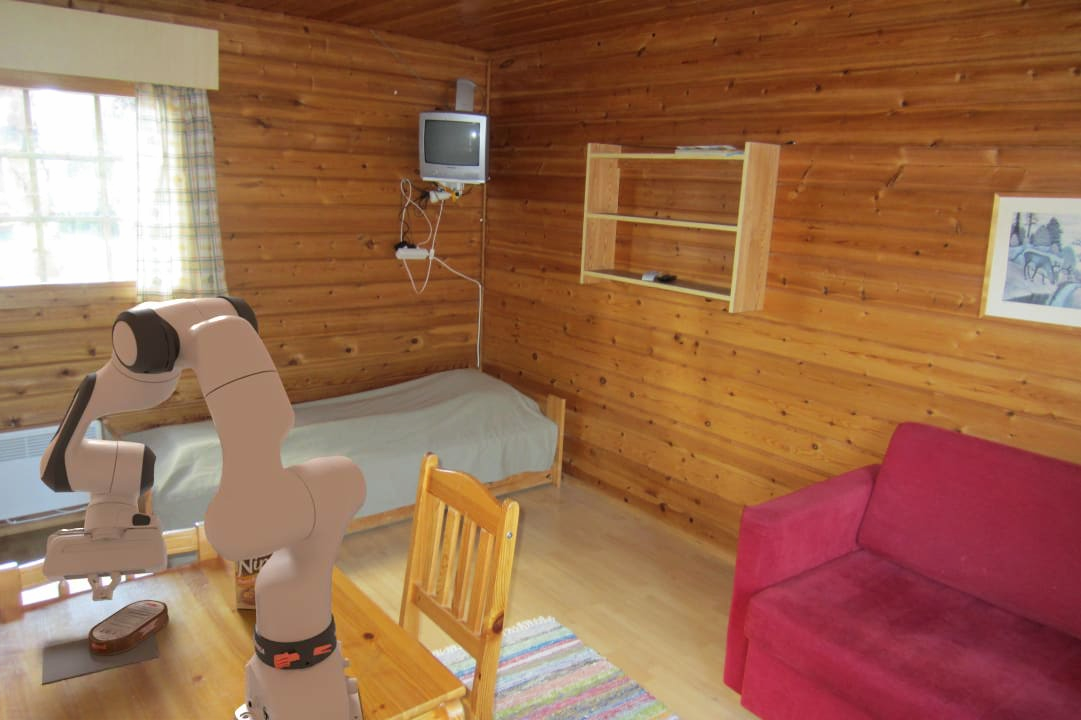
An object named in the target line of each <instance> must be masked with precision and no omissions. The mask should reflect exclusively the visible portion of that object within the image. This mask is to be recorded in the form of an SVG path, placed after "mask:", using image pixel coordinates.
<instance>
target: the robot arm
mask: <svg viewBox="0 0 1081 720" xmlns="http://www.w3.org/2000/svg"><path fill="white" fill-rule="evenodd" d="M111 343H112V346H113V348H112V353H111V357H110V359H109V361H107V363H106V364H105V365H104V366H103V367H102V368H100V369H98V370H97V371H94V372H92V373H91V372H90V373H88V374H86V376H84V378H83V380H81V382H80V384H79V385H78V388H77V389H76V391H75V393H74V394H73V396H72V399H71V401H70V403H69V405H68V407H67V409H66V411H65V414H64V415H63V417H62V420H61V421H60V424H59V426H58V428H57V430H56V432H55V434H54V435H53V437H52V439H51V440H50V443H49V444H48V446H47V447H46V448H45V449H44V451H43V454H42V456H41V460H40V464H39V477H40V480H41V482H43V484H44V485H45V486H46V487H48V488H49V489H50V490H51V491H53V492H54V493H77V492H79V493H89V496H90V500H89V502H88V505H87V507H86V511H85V517H84V525H83V527H81V528H78V527H77V528H71V529H65V528H63V529H58V530H57V531H56V532H52V534H50V535H49V536H48V537H47V542H46V546H45V547H46V548H45V549H46V553H45V557H44V560H43V565H42V567H41V571H42V573H41V574H42V575H43V576H44V577H45V578H46V579H47V580H48V581H49V582H58V581H72V580H84V579H87V582H88V583H89V586H90V588H91V589H92V597H91V599H92V601H93V602H102V601H111V600H113V597H114V591H115V590H116V588H117V587H118V586H119V584H120V583H121V582H122V576H131V575H143V574H144V575H145V574H154V573H155V574H157V573H162V572H164V570H165V569H166V568H167V566H168V550H167V547H168V546H167V543H166V541H165V539H164V536H163V533H164V526H163V524H162V522H161V520H160V519H159V518H158V517H157V515H152V514H148V513H143V512H139V505H138V501H139V497H141V496H143V495H144V494H145V493H146V492H148V491H149V490H150V489H152V488H153V486H154V483H155V463H156V461H157V455H156V454H155V453H154V451H153V450H152V449H151V448H150V446H148V445H147V444H146V443H145V444H144V443H140V442H134V441H125V440H110V439H109V440H106V439H97V438H96V439H95V438H87V437H85V436H86V434H87V433H88V430H89V428H90V426H91V424H92V423H93V422H94V421H95V420H98V419H99V418H101V417H105V416H108V415H112V414H113V415H114V414H120V413H125V412H136V411H138V412H139V411H143V410H148V409H151V408H154V407H156V406H158V405H160V404H162V403H164V402H166V400H167V399H169V398H170V397H171V396H172V395H173V393H174V391H175V390H176V388H177V386H178V383H179V381H180V379H181V376H182V375H181V374H182V371H183V370H187V369H191V370H192V371H193V372H194V374H195V376H196V378H197V381H198V384H199V387H200V390H201V392H202V396H203V398H204V401H205V403H206V406H207V408H208V411H209V413H210V416H211V418H212V421H213V424H214V428H215V430H216V433H217V436H218V437H217V438H218V440H219V442H220V448H221V454H222V455H221V456H222V468H221V476H220V480H219V484H218V487H217V490H216V491H215V493H214V495H213V496H212V498H211V500H210V501H209V503H208V506H207V508H206V510H205V514H204V518H203V519H204V521H203V523H204V524H203V525H204V526H203V527H204V534H205V536H206V539H207V542H208V543H209V545H210V547H211V548H212V549H213V551H214V552H215V553H216V554H217V555H219V556H220V557H222V558H223V559H225V560H226V561H230V562H234V563H235V562H237V561H243V560H249V559H254V558H259V557H263V556H267V555H269V554H272V553H273V554H272V556H271V557H270V559H269V560H268V561H267V562H266V563H265V564H264V566H263V567H262V569H261V570H260V572H259V574H258V576H257V579H256V583H255V600H256V609H255V614H256V615H255V617H256V622H255V624H254V628H253V634H252V635H253V637H252V638H253V644H254V651H255V652H254V653H253V656H252V657H251V658H250V659H249V661H248V662H247V664H246V665H245V667H244V679H245V681H244V683H245V684H244V685H245V686H244V690H245V692H244V695H245V697H244V703H243V704H242V705H241V706H239V707H238V708H237V709H236V710H235V711H234V717H233V719H234V720H364V719H363V718H364V717H363V713H362V706H361V701H360V696H359V690H358V689H359V687H358V680H357V678H356V677H350V674H346V673H345V669H346V668H347V669H348V668H349V667H350V659H349V657H346V658H343V653H342V651H343V649H342V648H343V647H342V646H343V644H342V643H343V642H342V641H341V640H340V639H337V626H336V622H335V616H334V613H332V593H333V592H332V588H333V587H332V585H333V583H332V582H333V573H334V568H335V563H336V560H337V556H338V553H339V550H340V548H341V544H342V542H343V539H344V537H345V534H346V532H347V530H348V528H349V526H350V525H351V522H352V521H353V520H354V518H355V516H356V515H358V513H359V511H360V510H361V509H362V508H363V506H365V503H366V499H367V494H368V491H367V488H368V487H367V482H366V478H365V475H364V473H363V472H362V470H361V468H360V467H359V465H358V464H357V463H355V462H354V461H353V460H352V459H351V458H349V457H347V456H344V455H331V456H321V457H314V458H312V459H308V460H306V461H305V460H304V461H302V462H299V463H295V464H293V465H289V466H287V467H284V465H283V463H282V459H281V458H282V457H281V446H282V444H283V442H284V441H285V440H286V439H287V437H288V436H289V435H290V434H291V432H292V430H293V428H294V425H295V421H296V415H295V411H294V409H293V406H292V404H291V402H290V399H289V396H288V394H287V391H286V389H285V386H284V384H283V382H282V379H281V377H280V374H279V372H278V369H277V368H276V365H275V363H274V361H273V359H272V357H271V355H270V353H269V351H268V349H267V348H266V345H265V344H264V341H263V340H262V339H261V337H260V336H259V322H258V318H257V316H256V313H255V311H254V310H253V309H252V307H251V306H250V304H249V303H248V302H247V301H245V300H244V299H242V298H240V297H237V296H233V295H231V296H230V295H218V296H215V297H195V298H175V299H171V300H164V301H144V302H141V303H139V304H137V305H134V307H131V308H128V309H126V310H124V311H122V312H120V313H119V314H118V315H117V317H116V319H115V321H114V322H113V325H112V329H111ZM107 577H108V578H110V579H111V582H110V583H109V584H108V585H107V587H106V588H104V587H103V588H98V586H97V584H99V582H100V578H107Z"/></svg>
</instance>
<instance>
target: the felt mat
mask: <svg viewBox="0 0 1081 720" xmlns="http://www.w3.org/2000/svg"><path fill="white" fill-rule="evenodd" d="M155 634H156V632H154V633H153V634H152V635H150V636H149V637H147V638H146V639H145V640H143V641H142V642H140V643H139V644H138V645H136V646H135V647H133V648H131V649H129V650H127V651H125V652H122V653H118V654H113V655H98V654H94V653H92V652H91V651H90V650H89V648H88V645H89V640H88V637H87V638H83V639H82V638H81V639H77V640H74V641H67V642H64V643H60V644H59V643H58V644H55V645H50V646H46V647H45V646H44V647H43V660H42V675H41V676H42V679H41V685H46V684H50V683H54V682H58V681H62V680H68V679H72V678H75V677H80V676H84V675H88V674H93V673H97V672H101V671H105V670H109V669H110V670H111V669H113V668H118V667H122V666H127V665H131V664H135V663H138V662H143V661H147V660H152V659H156V658H159V655H160V654H159V650H158V645H157V638H156V635H155Z"/></svg>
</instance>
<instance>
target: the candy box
mask: <svg viewBox="0 0 1081 720" xmlns="http://www.w3.org/2000/svg"><path fill="white" fill-rule="evenodd" d="M272 554H273V553H272ZM272 554H269V555H267V556H263V557H259V558H254V559H249V560H243V561H237V562H234V581H235V603H236V604H235V606H236V609H243V610H246V609H247V610H256V600H255V583H256V579H257V576H258V574H259V572H260V570H261V569H262V567H263V566H264V564H265V563H266V562H267V561H268V560H269V559H270V557H271V556H272Z"/></svg>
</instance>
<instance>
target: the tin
mask: <svg viewBox="0 0 1081 720" xmlns="http://www.w3.org/2000/svg"><path fill="white" fill-rule="evenodd" d="M169 619H170V617H169V611H168V605H167V604H166V602H163V601H159V600H155V599H154V600H153V599H144V600H143V599H142V600H138V601H135V602H134V601H133V602H131V603H129V604H126V605H125V606H124V607H122V608H119V610H117V611H116V612H114V613H113V614H111V615H109V616H107V617H106V618H105V619H103V620H102V621H100V622H98V623H97V624H96V625H94V626H93V627H91V628H90V630H89V632H88V635H87V638H88V640H89V645H88V648H89V650H90V651H91V652H92V653H94V654H98V655H113V654H118V653H122V652H125V651H127V650H129V649H131V648H133V647H135V646H136V645H138V644H139V643H140V642H142V641H143V640H145V639H146V638H147V637H149V636H150V635H152V634H153V633H154V632H155V633H156V632H157V631H158V630H161V628H163V627H164V626H166V625H167V623H168V622H169V621H170V620H169Z"/></svg>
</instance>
